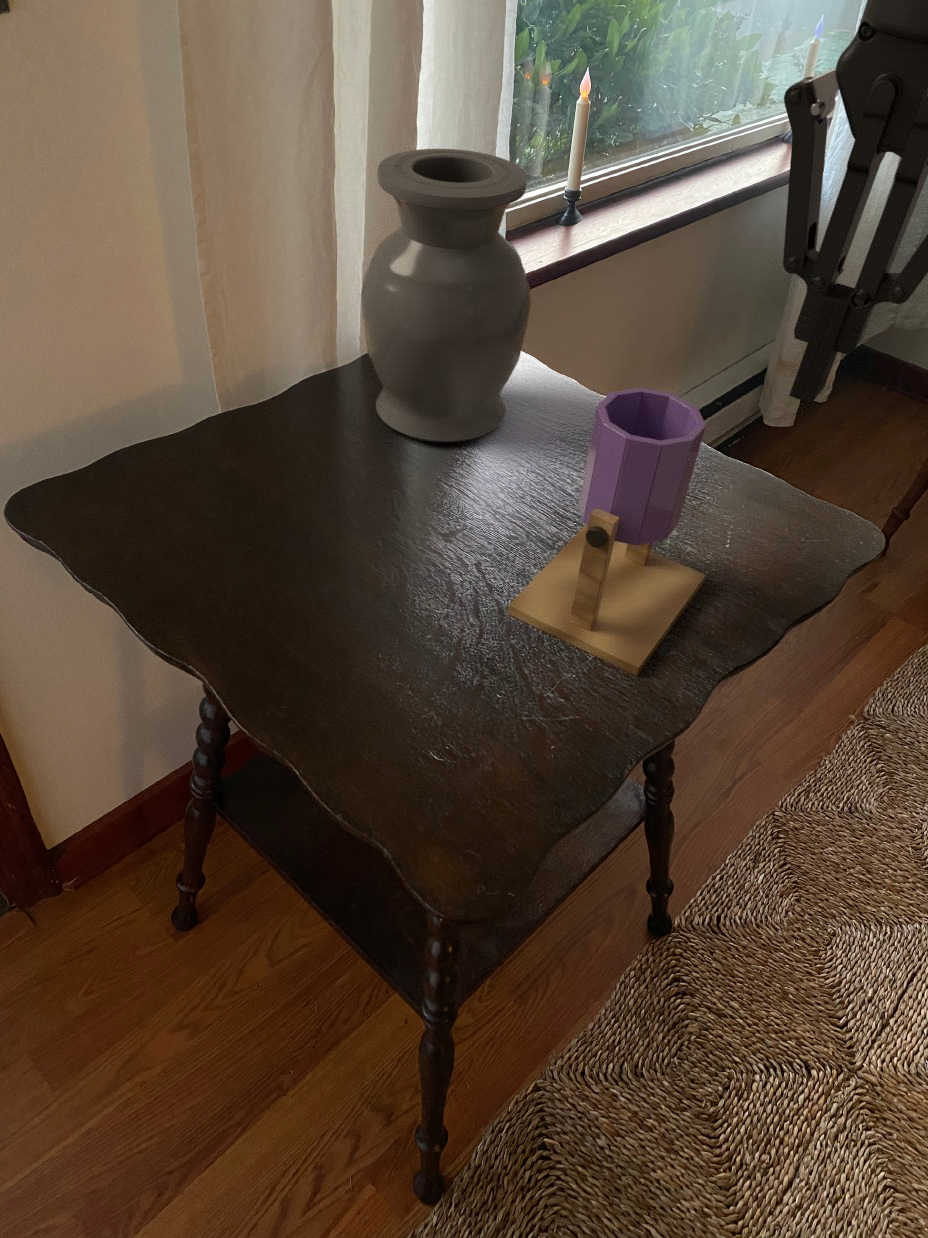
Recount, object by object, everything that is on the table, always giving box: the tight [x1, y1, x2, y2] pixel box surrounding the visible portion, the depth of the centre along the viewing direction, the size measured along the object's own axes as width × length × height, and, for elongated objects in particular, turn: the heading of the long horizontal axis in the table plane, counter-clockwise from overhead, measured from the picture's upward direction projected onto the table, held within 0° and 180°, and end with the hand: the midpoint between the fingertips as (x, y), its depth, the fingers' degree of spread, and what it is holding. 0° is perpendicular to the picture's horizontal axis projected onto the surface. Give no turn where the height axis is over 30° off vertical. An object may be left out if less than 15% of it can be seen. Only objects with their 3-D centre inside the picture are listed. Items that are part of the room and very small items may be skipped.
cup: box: [578, 387, 707, 546], centre depth 68 cm, size 8×9×9 cm
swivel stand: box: [507, 508, 707, 677], centre depth 73 cm, size 12×14×12 cm
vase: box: [360, 148, 532, 444], centre depth 89 cm, size 17×17×25 cm
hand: (806, 390), depth 58 cm, fingers closed
